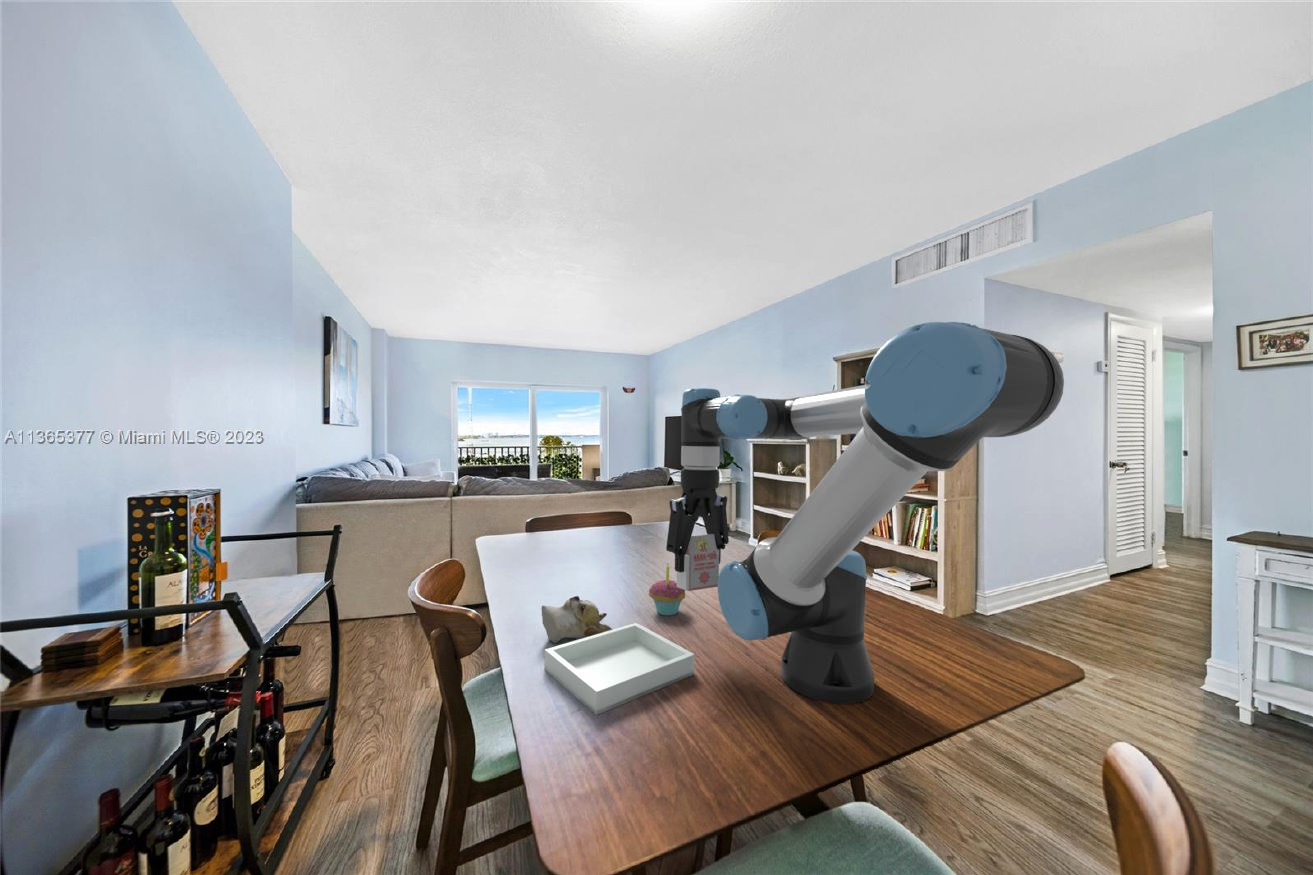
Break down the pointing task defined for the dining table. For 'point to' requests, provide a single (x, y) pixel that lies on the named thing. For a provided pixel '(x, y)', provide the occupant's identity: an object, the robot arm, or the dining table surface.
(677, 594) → the cupcake
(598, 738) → the dining table surface
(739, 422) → the robot arm
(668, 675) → the tray
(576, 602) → the ceramic sculpture
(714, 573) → the white printed box
